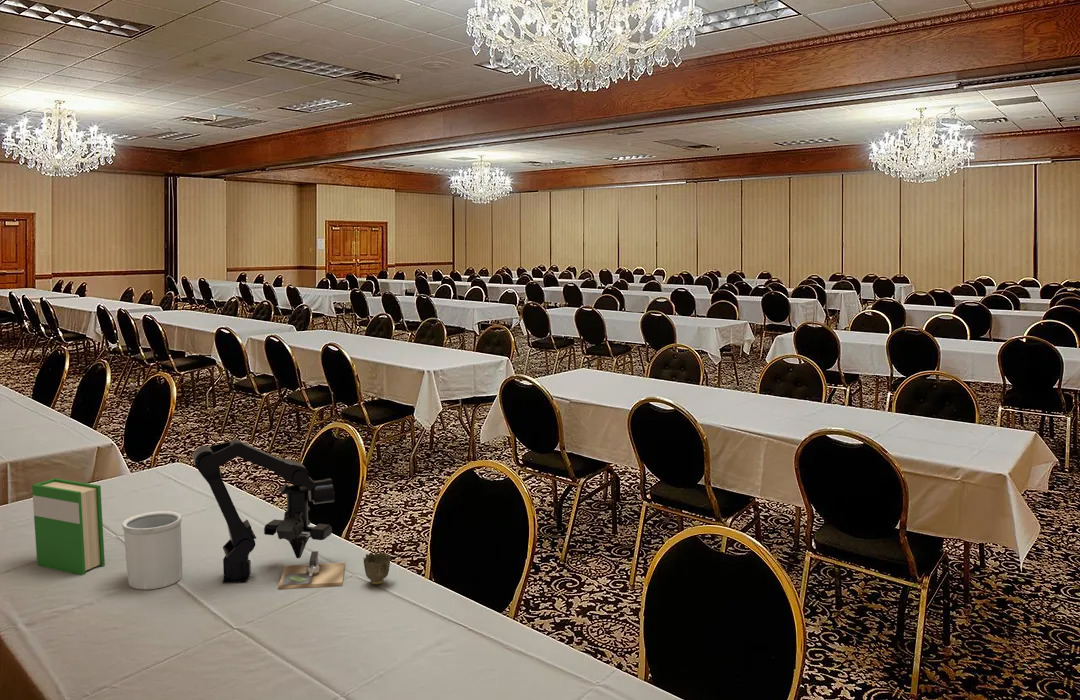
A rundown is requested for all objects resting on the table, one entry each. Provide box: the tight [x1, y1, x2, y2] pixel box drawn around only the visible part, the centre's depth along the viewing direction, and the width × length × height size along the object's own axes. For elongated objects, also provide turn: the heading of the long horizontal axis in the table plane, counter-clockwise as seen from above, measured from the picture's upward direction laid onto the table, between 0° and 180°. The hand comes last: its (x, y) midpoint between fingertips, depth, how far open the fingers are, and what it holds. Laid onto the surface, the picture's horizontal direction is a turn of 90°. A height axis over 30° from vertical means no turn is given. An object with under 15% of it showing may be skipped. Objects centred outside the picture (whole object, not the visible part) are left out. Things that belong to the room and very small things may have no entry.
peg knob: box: [306, 550, 320, 576], centre depth 234 cm, size 14×4×3 cm, turn 10°
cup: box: [362, 551, 392, 587], centre depth 230 cm, size 8×7×8 cm
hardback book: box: [31, 477, 106, 576], centre depth 238 cm, size 18×7×24 cm, turn 70°
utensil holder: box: [121, 510, 183, 590], centre depth 229 cm, size 15×15×18 cm
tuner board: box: [277, 562, 346, 590], centre depth 234 cm, size 17×14×1 cm
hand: (298, 557), depth 240 cm, fingers closed
